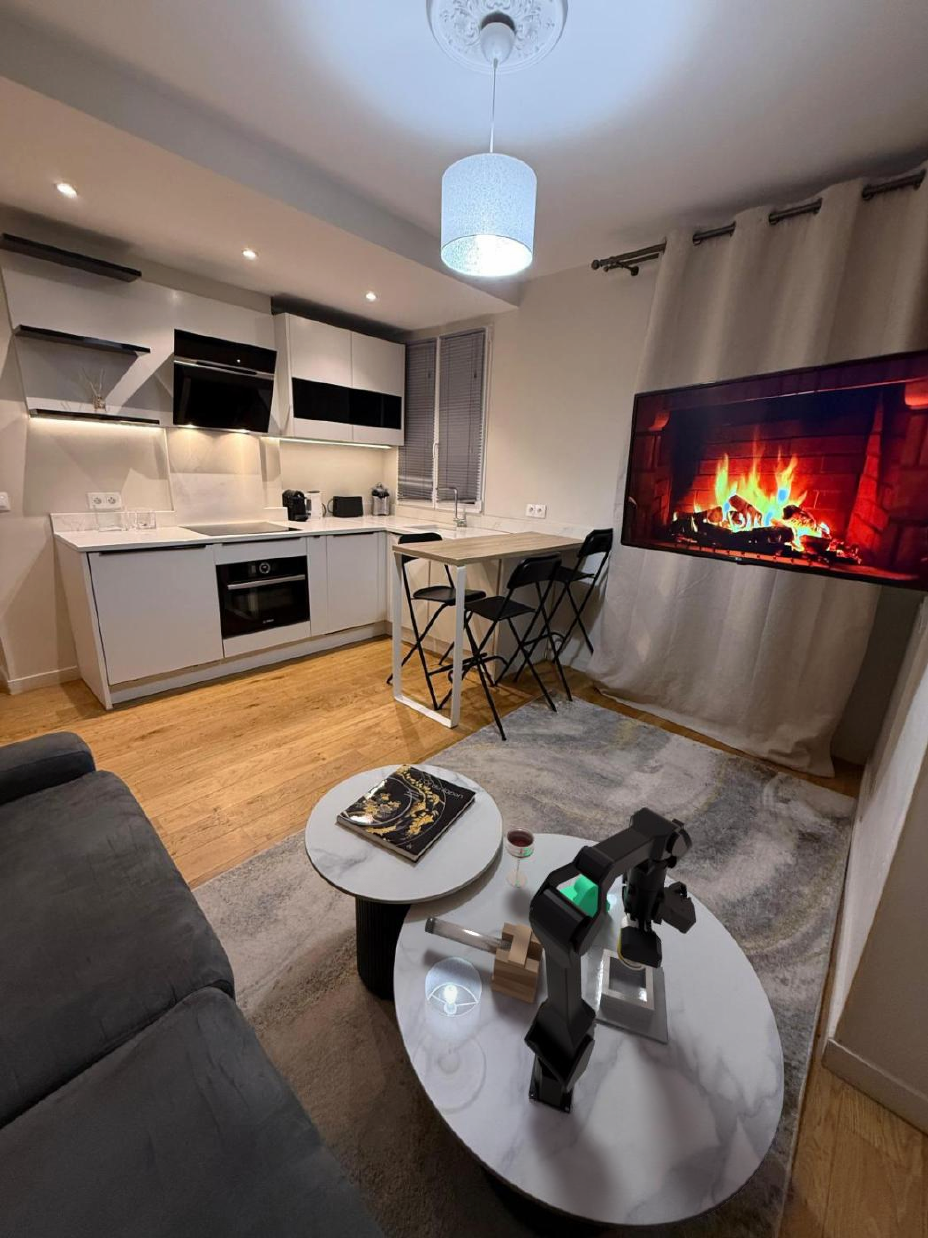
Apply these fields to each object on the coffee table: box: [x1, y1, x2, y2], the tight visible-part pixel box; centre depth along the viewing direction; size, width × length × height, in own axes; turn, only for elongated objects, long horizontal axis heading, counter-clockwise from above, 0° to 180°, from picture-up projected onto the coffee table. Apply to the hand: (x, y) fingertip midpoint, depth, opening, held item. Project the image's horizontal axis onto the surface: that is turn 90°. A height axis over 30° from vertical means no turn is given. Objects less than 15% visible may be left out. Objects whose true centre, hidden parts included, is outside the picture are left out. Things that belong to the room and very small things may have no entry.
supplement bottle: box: [616, 913, 647, 970], centre depth 88 cm, size 5×5×10 cm
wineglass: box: [504, 826, 536, 888], centre depth 115 cm, size 7×7×12 cm
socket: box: [584, 945, 668, 1046], centre depth 92 cm, size 14×14×4 cm
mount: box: [490, 921, 544, 1004], centre depth 94 cm, size 10×8×7 cm
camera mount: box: [559, 874, 611, 917], centre depth 108 cm, size 12×8×10 cm, turn 116°
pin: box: [424, 915, 512, 955], centre depth 97 cm, size 18×3×3 cm, turn 72°
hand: (633, 946), depth 89 cm, fingers closed on supplement bottle, 5 cm apart
